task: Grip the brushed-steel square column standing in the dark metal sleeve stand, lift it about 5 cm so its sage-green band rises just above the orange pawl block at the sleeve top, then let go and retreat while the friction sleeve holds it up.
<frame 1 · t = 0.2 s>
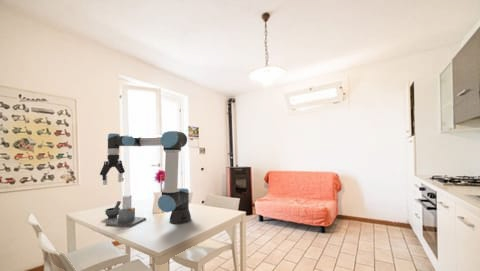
hand: (112, 183, 156), 28 cm above the table, fingers open, 13 cm apart
mortar and pestle: (113, 218, 163), on the table
stand: (126, 222, 152), on the table
column: (126, 207, 153), point 10 cm above the table, slide at 0.0 cm
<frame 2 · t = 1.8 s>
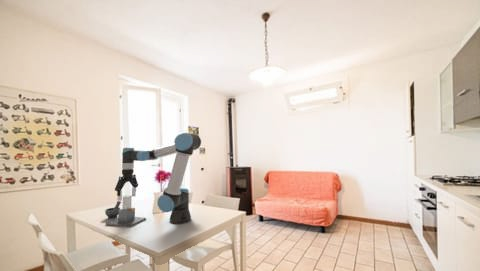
hand: (126, 198, 153), 17 cm above the table, fingers open, 13 cm apart
nothing on the table moved.
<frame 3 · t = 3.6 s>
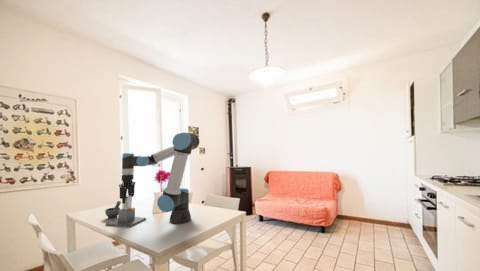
hand: (126, 206, 153), 11 cm above the table, fingers closed on column, 4 cm apart
column: (126, 207, 153), point 10 cm above the table, slide at 0.0 cm, touching gripper
everything else where it was.
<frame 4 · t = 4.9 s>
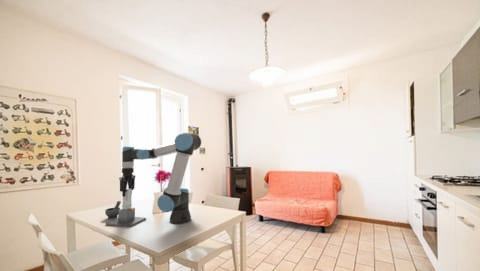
hand: (127, 200, 153), 16 cm above the table, fingers closed on column, 4 cm apart
column: (126, 200, 153), point 15 cm above the table, slide at 4.9 cm, touching gripper
everything else where it was.
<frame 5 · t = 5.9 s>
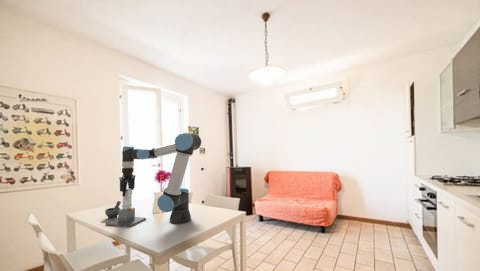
hand: (127, 199, 153), 16 cm above the table, fingers closed on column, 4 cm apart
column: (126, 200, 153), point 15 cm above the table, slide at 5.0 cm, touching gripper
everything else where it was.
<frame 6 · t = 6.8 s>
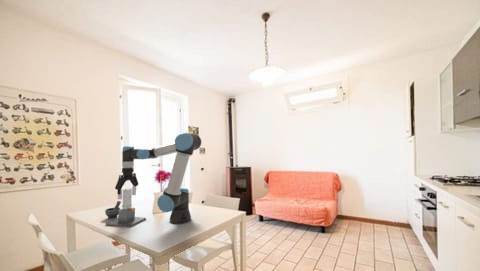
hand: (127, 197, 153), 18 cm above the table, fingers open, 13 cm apart
column: (126, 200, 153), point 15 cm above the table, slide at 5.0 cm
everything else where it was.
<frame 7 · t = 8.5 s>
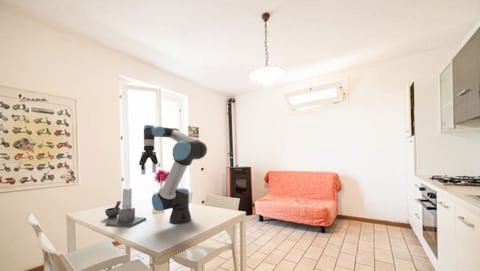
hand: (149, 173, 160), 34 cm above the table, fingers open, 13 cm apart
nothing on the table moved.
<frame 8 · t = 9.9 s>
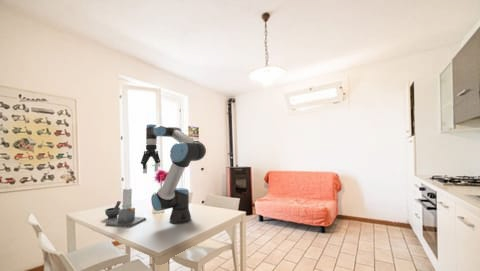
hand: (150, 172, 162), 35 cm above the table, fingers open, 13 cm apart
nothing on the table moved.
at the end: column slide at 5.0 cm; the gripper is holding nothing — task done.
